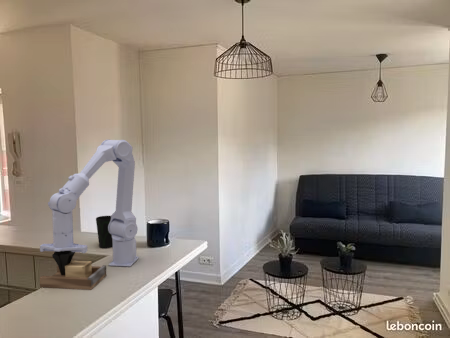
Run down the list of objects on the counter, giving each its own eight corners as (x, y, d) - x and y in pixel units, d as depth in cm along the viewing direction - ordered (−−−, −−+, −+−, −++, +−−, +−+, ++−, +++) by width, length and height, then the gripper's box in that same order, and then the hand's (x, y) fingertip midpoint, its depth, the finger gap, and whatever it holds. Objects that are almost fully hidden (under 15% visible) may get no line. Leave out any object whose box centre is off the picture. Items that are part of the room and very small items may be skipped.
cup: (94, 245, 153) (93, 217, 152) (112, 242, 158) (111, 214, 157) (100, 250, 147) (99, 220, 146) (119, 247, 152) (118, 218, 151)
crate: (73, 274, 119) (73, 260, 118) (91, 275, 118) (91, 261, 118) (65, 280, 114) (64, 266, 113) (84, 281, 113) (83, 266, 113)
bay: (59, 273, 123) (59, 263, 122) (106, 275, 121) (106, 265, 121) (40, 287, 112) (39, 276, 111) (91, 289, 110) (90, 278, 110)
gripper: (33, 234, 112) (35, 277, 113) (79, 235, 110) (80, 280, 112) (46, 228, 119) (48, 269, 120) (90, 229, 117) (91, 271, 119)
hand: (64, 274), depth 116 cm, fingers closed
